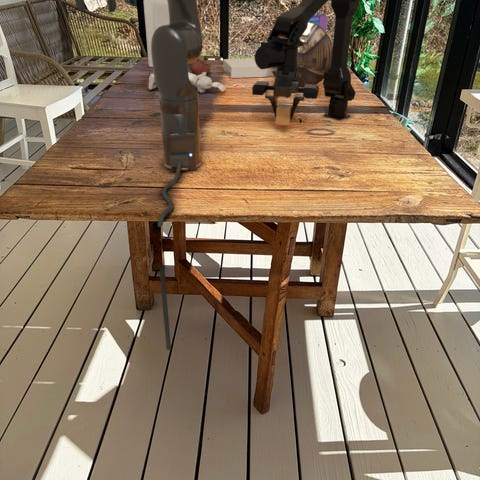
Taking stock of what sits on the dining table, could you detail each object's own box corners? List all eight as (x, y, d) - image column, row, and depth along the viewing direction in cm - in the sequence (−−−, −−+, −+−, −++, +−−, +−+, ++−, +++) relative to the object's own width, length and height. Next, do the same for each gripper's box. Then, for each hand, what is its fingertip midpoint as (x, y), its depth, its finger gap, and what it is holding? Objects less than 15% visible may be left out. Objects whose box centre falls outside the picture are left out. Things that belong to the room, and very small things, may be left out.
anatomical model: (204, 86, 208) (191, 72, 218) (219, 73, 207) (206, 59, 217) (188, 66, 199) (175, 52, 208) (204, 52, 198) (190, 38, 207)
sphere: (332, 84, 199) (340, 18, 186) (325, 99, 179) (333, 26, 166) (274, 79, 205) (277, 15, 192) (260, 93, 184) (263, 23, 171)
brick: (278, 119, 145) (278, 103, 143) (291, 120, 145) (292, 104, 142) (275, 124, 141) (276, 108, 139) (289, 125, 141) (290, 109, 138)
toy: (168, 102, 172) (167, 83, 168) (144, 87, 190) (143, 69, 186) (228, 94, 182) (228, 76, 179) (199, 80, 201) (199, 63, 197)
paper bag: (192, 61, 237) (190, -2, 222) (188, 67, 224) (186, 1, 210) (154, 60, 237) (149, -3, 223) (148, 66, 225) (143, 0, 210)
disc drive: (281, 76, 210) (281, 64, 208) (231, 78, 206) (231, 66, 203) (269, 68, 225) (270, 57, 222) (223, 70, 220) (223, 58, 218)
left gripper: (53, -63, 115) (65, 11, 124) (107, -62, 113) (115, 13, 121) (69, -62, 122) (79, 8, 130) (121, -61, 119) (128, 10, 128)
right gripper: (248, 68, 129) (247, 124, 137) (318, 72, 126) (312, 129, 134) (256, 60, 139) (254, 113, 147) (321, 64, 135) (315, 118, 143)
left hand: (97, 11), depth 126 cm, fingers open, 8 cm apart
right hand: (283, 119), depth 142 cm, fingers closed on brick, 4 cm apart
